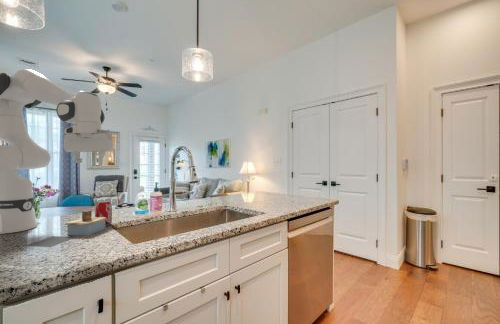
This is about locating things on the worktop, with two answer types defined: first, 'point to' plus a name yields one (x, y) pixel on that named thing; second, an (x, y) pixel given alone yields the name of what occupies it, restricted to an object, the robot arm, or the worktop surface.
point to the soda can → (104, 211)
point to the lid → (86, 219)
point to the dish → (86, 228)
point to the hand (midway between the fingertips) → (89, 162)
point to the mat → (50, 241)
